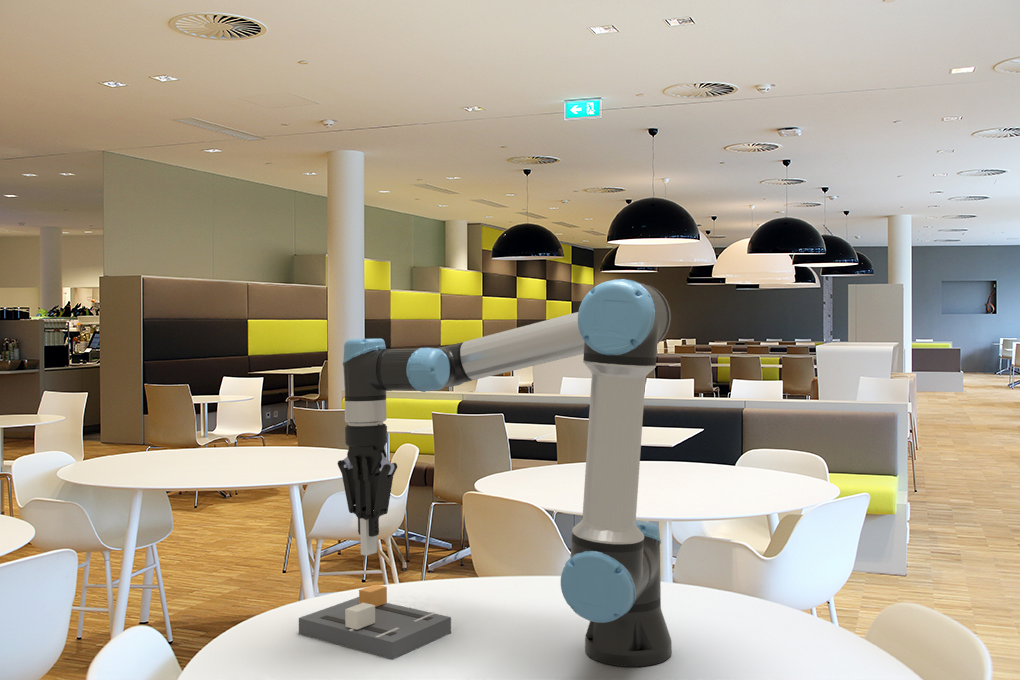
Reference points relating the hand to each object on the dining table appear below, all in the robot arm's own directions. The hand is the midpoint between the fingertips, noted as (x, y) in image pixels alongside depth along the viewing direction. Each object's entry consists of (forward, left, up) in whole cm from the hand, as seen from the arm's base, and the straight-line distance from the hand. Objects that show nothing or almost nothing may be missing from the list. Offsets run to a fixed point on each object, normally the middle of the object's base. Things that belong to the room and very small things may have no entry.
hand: (369, 553), depth 159 cm
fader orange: (+9, -10, -13) cm, 19 cm away
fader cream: (+2, 0, -13) cm, 14 cm away
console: (+4, -5, -17) cm, 18 cm away
